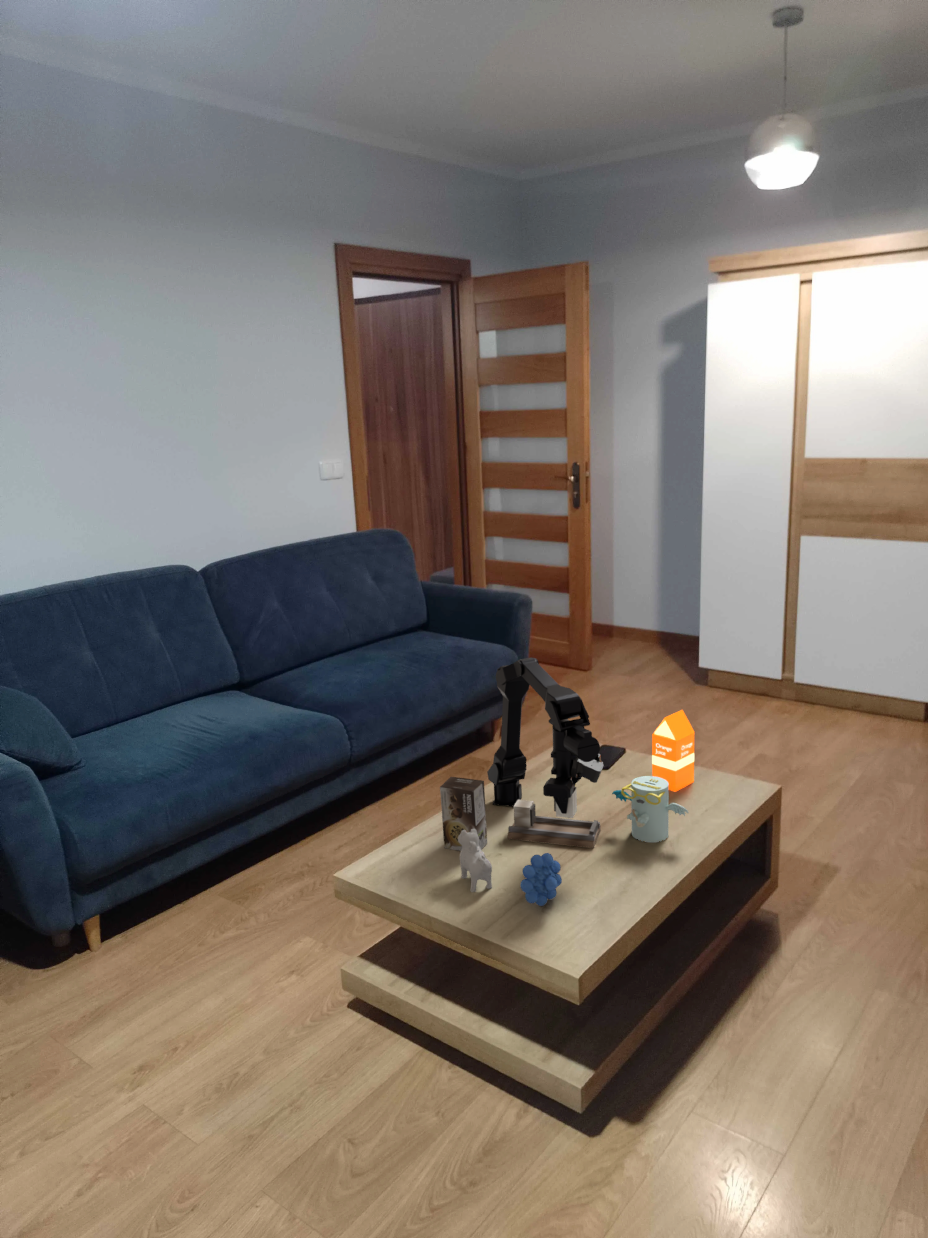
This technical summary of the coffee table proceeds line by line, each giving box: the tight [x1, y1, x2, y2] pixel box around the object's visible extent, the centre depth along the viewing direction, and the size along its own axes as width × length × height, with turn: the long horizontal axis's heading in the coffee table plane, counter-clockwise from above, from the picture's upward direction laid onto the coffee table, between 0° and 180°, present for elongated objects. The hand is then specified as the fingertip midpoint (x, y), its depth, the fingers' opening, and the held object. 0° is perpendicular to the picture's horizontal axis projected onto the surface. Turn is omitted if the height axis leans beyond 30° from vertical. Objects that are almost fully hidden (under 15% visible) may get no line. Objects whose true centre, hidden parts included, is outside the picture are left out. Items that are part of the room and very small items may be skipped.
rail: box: [507, 799, 602, 849], centre depth 222 cm, size 21×9×8 cm, turn 71°
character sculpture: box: [611, 775, 689, 843], centre depth 218 cm, size 20×12×13 cm, turn 52°
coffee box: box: [439, 776, 488, 852], centre depth 218 cm, size 9×6×16 cm
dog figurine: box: [458, 829, 493, 893], centre depth 203 cm, size 5×13×11 cm, turn 20°
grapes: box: [520, 852, 563, 907], centre depth 190 cm, size 12×7×12 cm, turn 132°
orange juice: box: [651, 709, 695, 793], centre depth 246 cm, size 8×9×20 cm
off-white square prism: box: [553, 786, 578, 819], centre depth 212 cm, size 4×4×6 cm
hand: (566, 809), depth 212 cm, fingers closed on off-white square prism, 4 cm apart
